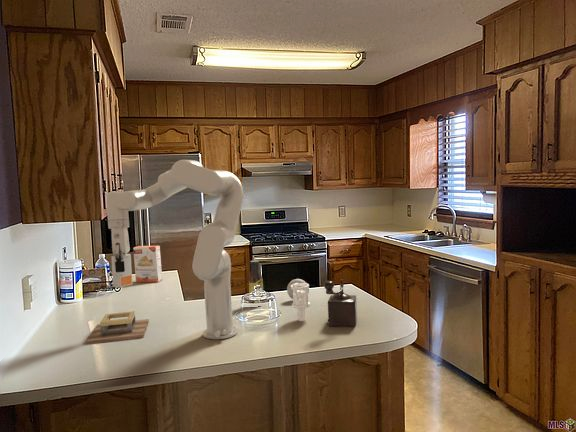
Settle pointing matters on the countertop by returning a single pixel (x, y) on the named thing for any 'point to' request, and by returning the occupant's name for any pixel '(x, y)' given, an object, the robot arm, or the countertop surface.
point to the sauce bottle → (255, 276)
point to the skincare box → (122, 277)
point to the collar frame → (118, 323)
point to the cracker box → (147, 264)
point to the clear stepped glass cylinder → (300, 299)
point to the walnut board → (136, 333)
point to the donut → (289, 290)
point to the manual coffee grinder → (341, 307)
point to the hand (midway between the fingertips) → (122, 269)
